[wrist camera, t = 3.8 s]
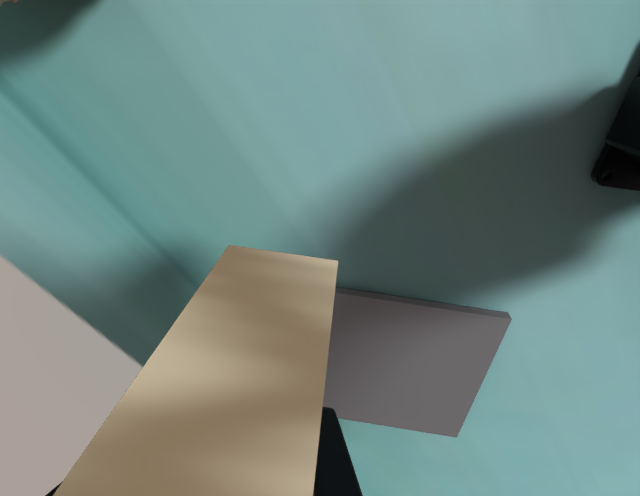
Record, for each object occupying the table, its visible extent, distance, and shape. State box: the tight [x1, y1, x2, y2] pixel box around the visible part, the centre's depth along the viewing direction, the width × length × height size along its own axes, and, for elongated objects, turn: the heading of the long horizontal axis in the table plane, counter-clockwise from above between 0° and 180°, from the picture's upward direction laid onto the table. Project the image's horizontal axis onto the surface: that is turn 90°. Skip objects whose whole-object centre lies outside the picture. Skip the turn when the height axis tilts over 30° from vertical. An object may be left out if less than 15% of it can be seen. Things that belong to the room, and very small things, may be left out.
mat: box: [323, 287, 512, 437], centre depth 24 cm, size 16×11×1 cm
